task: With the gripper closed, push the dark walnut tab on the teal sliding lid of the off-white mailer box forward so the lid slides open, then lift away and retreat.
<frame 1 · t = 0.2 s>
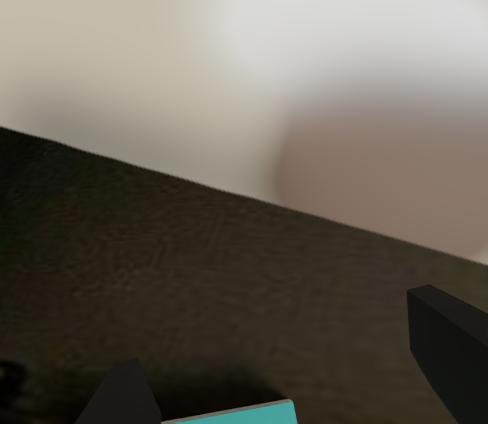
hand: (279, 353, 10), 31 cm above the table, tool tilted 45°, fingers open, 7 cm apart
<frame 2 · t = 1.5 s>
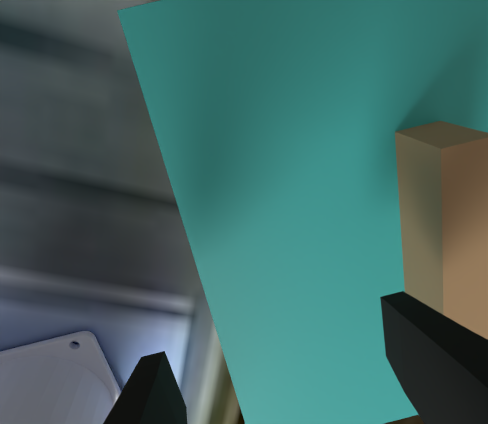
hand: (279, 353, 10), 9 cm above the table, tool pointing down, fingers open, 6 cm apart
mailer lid: (408, 255, 13), point 7 cm above the table, slide at 0.0 cm
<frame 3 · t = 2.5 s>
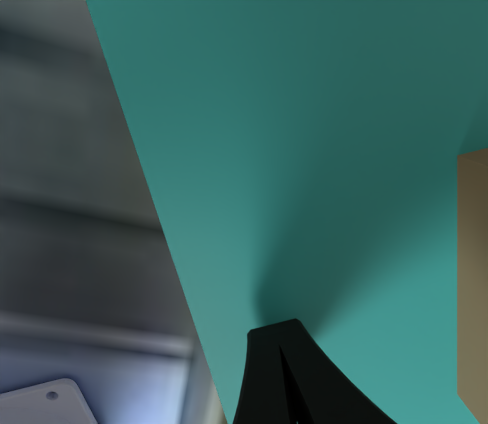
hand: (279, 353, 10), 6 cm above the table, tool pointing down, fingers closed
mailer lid: (470, 315, 10), point 7 cm above the table, slide at 0.0 cm
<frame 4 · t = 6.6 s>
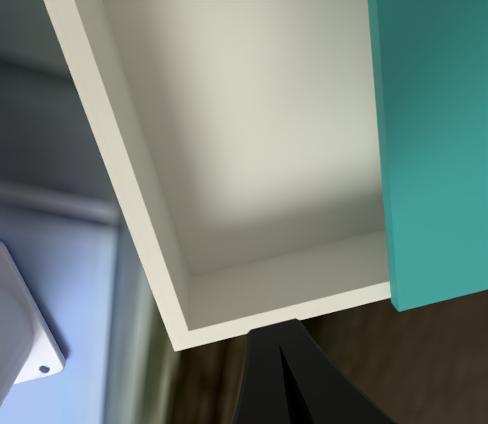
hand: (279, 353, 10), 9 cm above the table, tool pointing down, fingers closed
mailer box: (280, 76, 16), on the table
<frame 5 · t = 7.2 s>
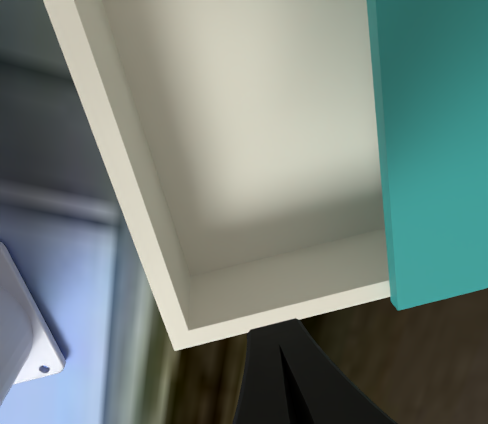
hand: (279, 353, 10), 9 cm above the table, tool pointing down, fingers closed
mailer box: (280, 75, 16), on the table
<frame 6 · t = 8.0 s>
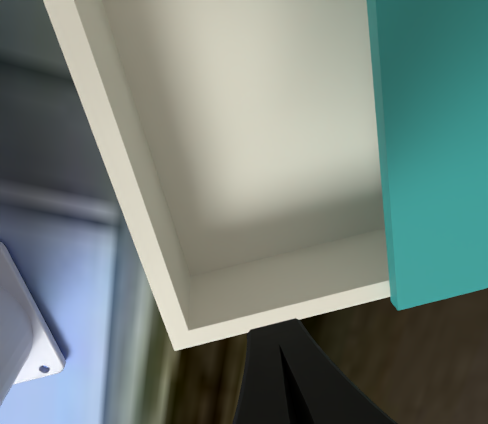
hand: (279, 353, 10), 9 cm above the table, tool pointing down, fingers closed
mailer box: (280, 75, 16), on the table
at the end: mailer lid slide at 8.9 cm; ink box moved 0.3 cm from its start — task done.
